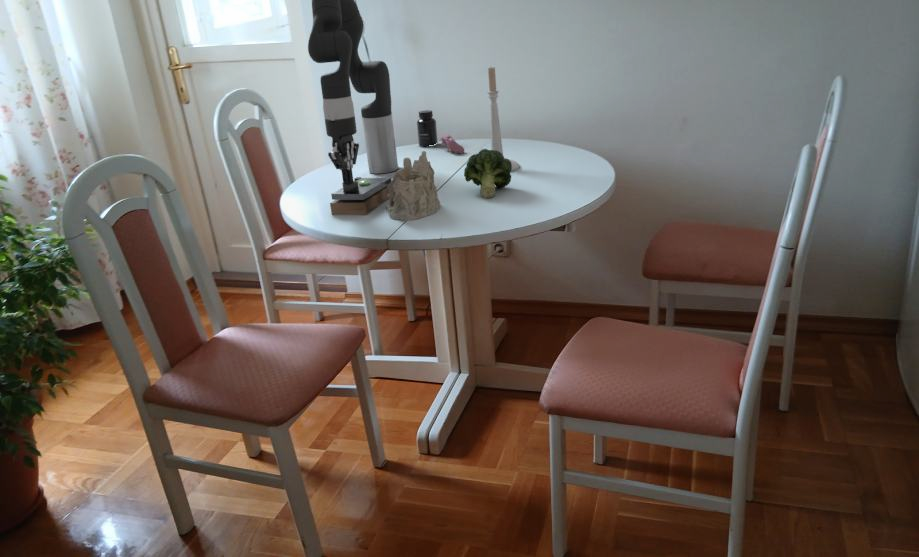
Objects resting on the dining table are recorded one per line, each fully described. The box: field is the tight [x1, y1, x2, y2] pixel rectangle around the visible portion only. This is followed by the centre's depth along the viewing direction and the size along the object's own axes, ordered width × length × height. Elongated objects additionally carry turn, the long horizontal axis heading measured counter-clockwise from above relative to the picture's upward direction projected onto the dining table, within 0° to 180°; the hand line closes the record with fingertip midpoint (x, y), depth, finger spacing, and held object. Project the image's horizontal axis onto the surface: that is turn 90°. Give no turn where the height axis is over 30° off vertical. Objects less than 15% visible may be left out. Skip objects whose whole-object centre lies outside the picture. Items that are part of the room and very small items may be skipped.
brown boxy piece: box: [329, 176, 394, 216], centre depth 200 cm, size 20×13×5 cm, turn 162°
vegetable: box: [463, 148, 512, 199], centre depth 199 cm, size 12×13×15 cm
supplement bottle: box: [416, 109, 439, 147], centre depth 262 cm, size 7×7×12 cm
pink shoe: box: [440, 134, 465, 154], centre depth 250 cm, size 10×5×7 cm, turn 18°
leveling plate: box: [330, 177, 392, 201], centre depth 198 cm, size 18×9×4 cm, turn 162°
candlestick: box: [486, 66, 520, 173], centre depth 219 cm, size 13×13×30 cm
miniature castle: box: [386, 150, 442, 222], centre depth 188 cm, size 16×16×15 cm
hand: (348, 183), depth 191 cm, fingers closed
